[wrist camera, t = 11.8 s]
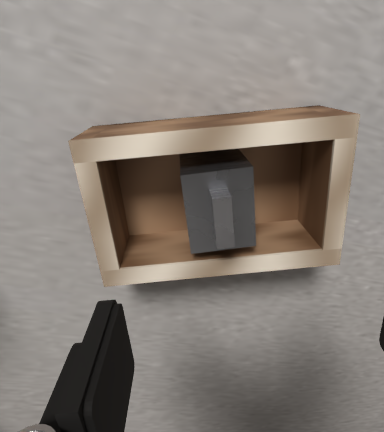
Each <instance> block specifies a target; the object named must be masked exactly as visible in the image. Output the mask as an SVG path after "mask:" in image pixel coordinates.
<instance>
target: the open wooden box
mask: <svg viewBox="0 0 384 432" xmlns="http://www.w3.org/2000/svg"><path fill="white" fill-rule="evenodd" d="M359 119H360V114H356V113H352V112H347V111H342V110H338V109H333V108H328V107H323V106H309V107H298V108H287V109H276V110H265V111H254V112H243V113H232V114H221V115H210V116H200V117H189V118H178V119H167V120H156V121H145V122H134V123H123V124H112V125H102V126H92V127H91V128H89V129H88V130H86V131H84V132H83V133H81V134H79V135H78V136H76V137H74V138H73V139H71V140H69V141H68V142H69V146H70V150H71V154H72V158H73V162H74V166H75V170H76V174H77V178H78V183H79V187H80V191H81V195H82V199H83V203H84V207H85V211H86V215H87V219H88V223H89V227H90V231H91V235H92V239H93V243H94V247H95V251H96V255H97V260H98V264H99V268H100V272H101V276H102V280H103V284H104V287H107V286H118V285H128V284H139V283H149V282H160V281H170V280H181V279H191V278H202V277H212V276H223V275H233V274H244V273H254V272H265V271H276V270H286V269H297V268H307V267H318V266H328V265H339V264H340V258H341V250H342V243H343V236H344V228H345V221H346V214H347V206H348V199H349V192H350V185H351V177H352V170H353V163H354V155H355V148H356V141H357V134H358V126H359ZM237 148H238V149H239V150H240V151H241V152H242V154H243V155H244V156H245V157H246V158H247V160H248V161H249V162H250V163H251V164H252V165H253V171H254V200H255V229H256V246H251V247H243V248H235V249H227V250H219V251H211V252H203V253H195V254H191V250H190V243H189V236H188V228H187V221H186V214H185V207H184V199H183V192H182V185H181V177H180V154H186V153H194V152H204V151H215V150H226V149H237Z"/></svg>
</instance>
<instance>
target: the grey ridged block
mask: <svg viewBox="0 0 384 432" xmlns="http://www.w3.org/2000/svg"><path fill="white" fill-rule="evenodd" d="M180 177H181V185H182V192H183V199H184V207H185V214H186V221H187V228H188V236H189V243H190V250H191V254H195V253H203V252H211V251H219V250H227V249H235V248H243V247H251V246H256V229H255V200H254V171H253V165H252V164H251V163H250V162H249V161H248V160H247V158H246V157H245V156H244V155H243V154H242V152H241V151H240V150H239V149H238V148H237V149H226V150H215V151H204V152H194V153H186V154H180Z"/></svg>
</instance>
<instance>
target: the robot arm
mask: <svg viewBox="0 0 384 432" xmlns="http://www.w3.org/2000/svg"><path fill="white" fill-rule="evenodd" d="M379 341H380V345H381V348H382V349H383V351H384V318H383V323H382V328H381V333H380V339H379ZM133 375H134V358H133V354H132V349H131V344H130V339H129V335H128V330H127V325H126V321H125V316H124V311H123V307H122V304H117V302H116V300H107V301H99V302H98V303H97V305H96V308H95V310H94V313H93V315H92V318H91V321H90V323H89V326H88V328H87V331H86V334H85V336H84V339H83V341H82V343H75V344H74V345H73V346H72V348H71V350H70V352H69V354H68V357H67V359H66V362H65V364H64V366H63V369H62V371H61V373H60V376H59V378H58V381H57V383H56V385H55V388H54V390H53V392H52V395H51V397H50V400H49V402H48V404H47V407H46V409H45V411H44V414H43V416H42V419H41V421H40V423H39V424H35V425H32V426H28V427H26V428H24V429H22V430H20V431H19V432H124V429H125V423H126V417H127V411H128V405H129V399H130V393H131V387H132V381H133Z"/></svg>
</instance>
